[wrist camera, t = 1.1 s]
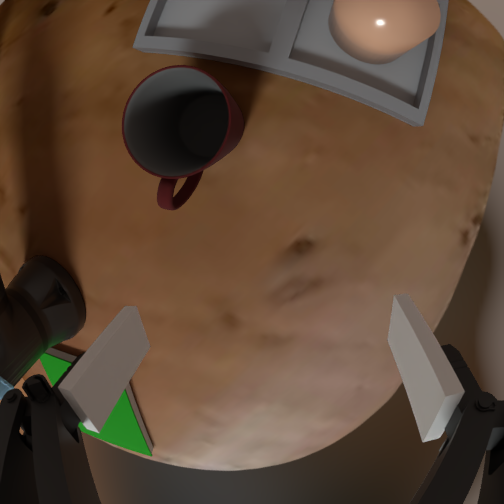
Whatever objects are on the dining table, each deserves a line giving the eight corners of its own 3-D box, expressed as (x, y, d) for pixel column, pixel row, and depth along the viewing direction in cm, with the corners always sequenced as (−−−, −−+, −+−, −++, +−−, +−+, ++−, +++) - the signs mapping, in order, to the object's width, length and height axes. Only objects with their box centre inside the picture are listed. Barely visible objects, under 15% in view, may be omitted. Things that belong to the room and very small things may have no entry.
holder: (142, 52, 27) (131, 46, 25) (190, -58, 20) (183, -68, 18) (413, 126, 27) (423, 125, 24) (439, 6, 20) (449, -1, 17)
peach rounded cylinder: (319, 46, 25) (329, 14, 16) (337, -14, 21) (350, -54, 13) (397, 77, 25) (433, 59, 16) (412, 16, 21) (444, -12, 13)
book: (128, 368, 46) (121, 379, 44) (155, 447, 57) (151, 456, 54) (42, 341, 49) (34, 348, 46) (81, 421, 59) (76, 428, 56)
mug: (236, 199, 33) (211, 229, 23) (162, 184, 33) (112, 206, 23) (259, 93, 28) (243, 71, 18) (180, 83, 28) (133, 63, 18)
